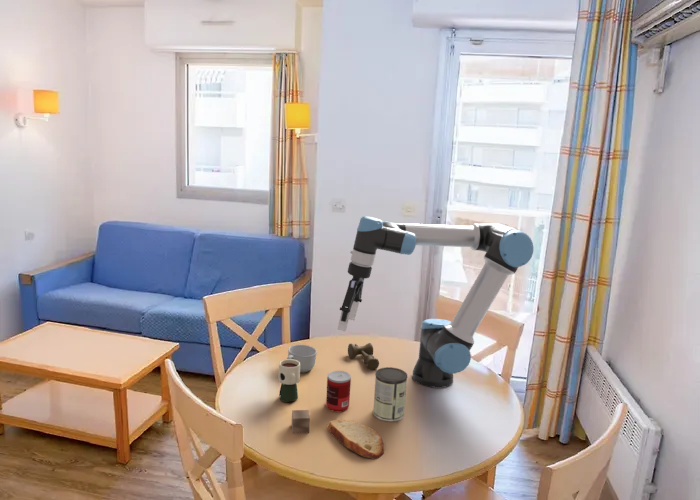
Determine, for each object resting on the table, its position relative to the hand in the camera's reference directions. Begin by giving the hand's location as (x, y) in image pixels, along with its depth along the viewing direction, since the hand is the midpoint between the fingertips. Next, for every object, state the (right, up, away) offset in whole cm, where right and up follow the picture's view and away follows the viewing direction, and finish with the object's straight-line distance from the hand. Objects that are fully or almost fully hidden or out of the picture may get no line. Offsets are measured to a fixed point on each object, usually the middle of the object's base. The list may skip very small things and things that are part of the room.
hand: (346, 324), depth 185 cm
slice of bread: (+2, -32, -20) cm, 38 cm away
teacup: (-18, -21, +25) cm, 38 cm away
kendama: (+7, -20, +38) cm, 43 cm away
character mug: (-20, -26, +3) cm, 32 cm away
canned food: (-3, -27, 0) cm, 27 cm away
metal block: (-14, -30, -15) cm, 36 cm away
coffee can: (+14, -29, -3) cm, 32 cm away
